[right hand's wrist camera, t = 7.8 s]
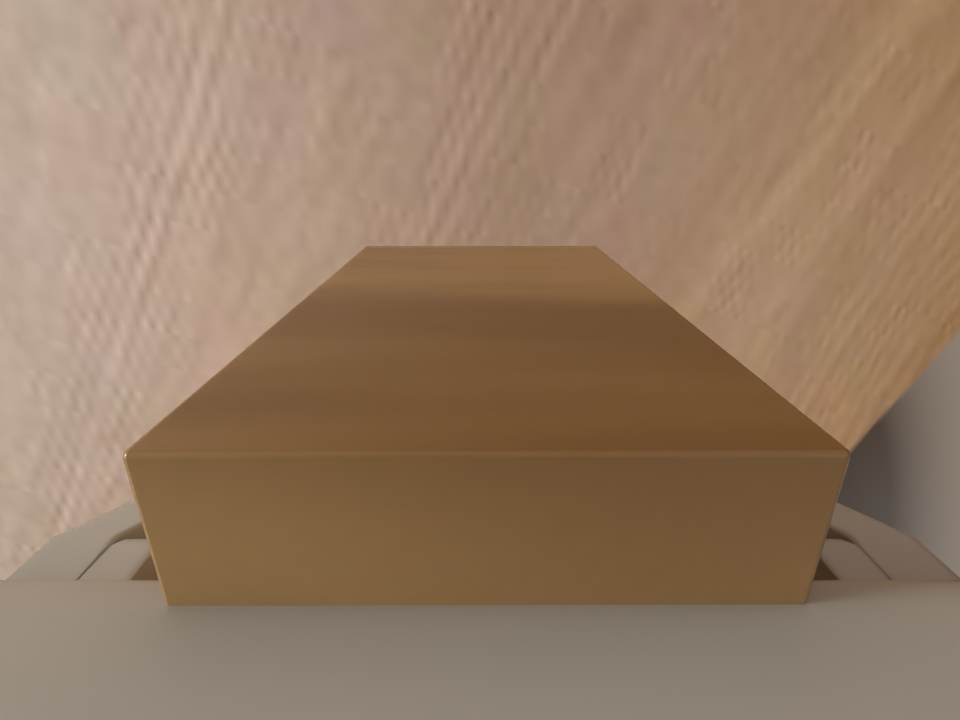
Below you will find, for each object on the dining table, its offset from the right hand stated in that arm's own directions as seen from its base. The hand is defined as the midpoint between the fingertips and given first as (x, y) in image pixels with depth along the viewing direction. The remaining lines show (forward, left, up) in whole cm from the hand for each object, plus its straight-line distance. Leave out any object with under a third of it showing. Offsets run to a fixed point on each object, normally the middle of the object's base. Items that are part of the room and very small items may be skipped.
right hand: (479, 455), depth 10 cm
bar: (+9, 0, -4) cm, 10 cm away
